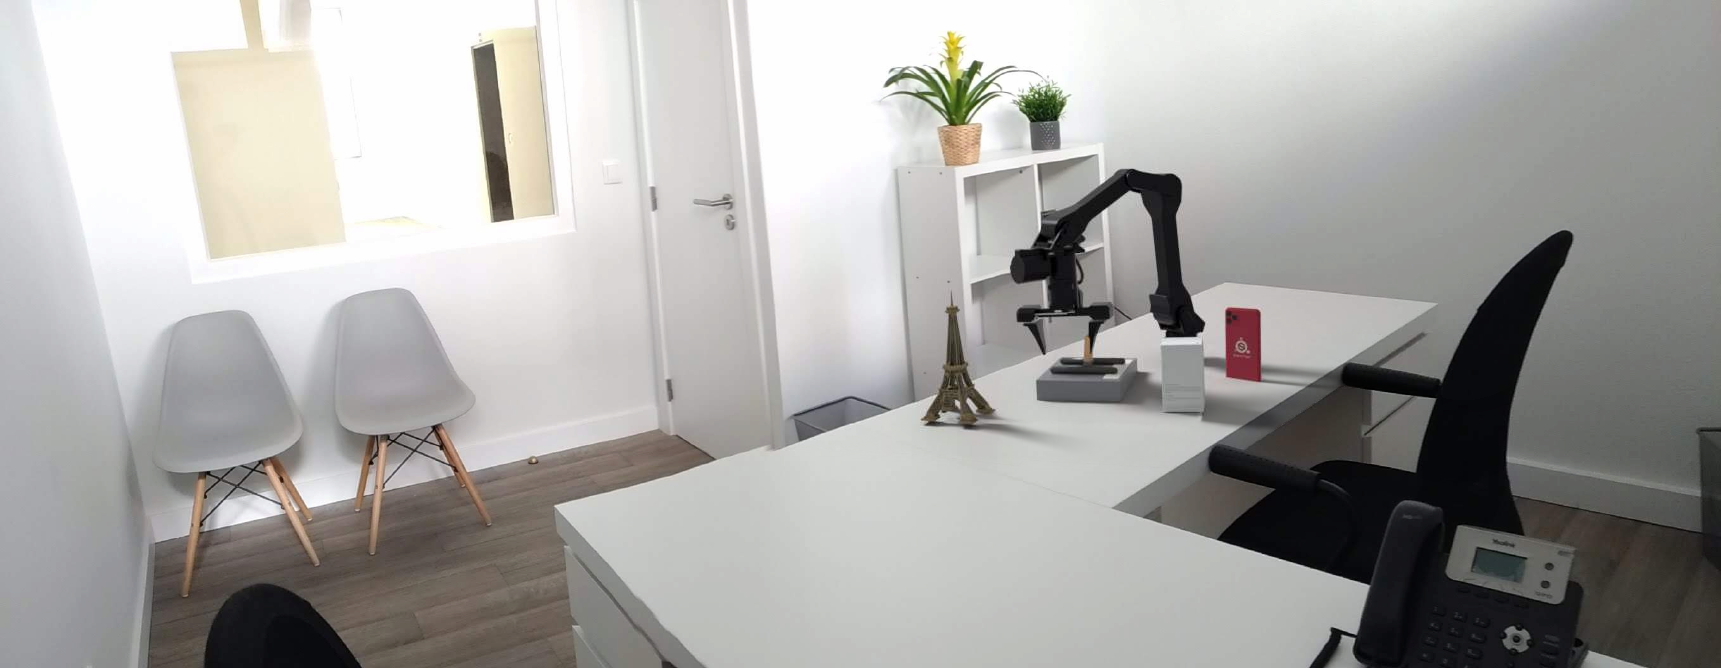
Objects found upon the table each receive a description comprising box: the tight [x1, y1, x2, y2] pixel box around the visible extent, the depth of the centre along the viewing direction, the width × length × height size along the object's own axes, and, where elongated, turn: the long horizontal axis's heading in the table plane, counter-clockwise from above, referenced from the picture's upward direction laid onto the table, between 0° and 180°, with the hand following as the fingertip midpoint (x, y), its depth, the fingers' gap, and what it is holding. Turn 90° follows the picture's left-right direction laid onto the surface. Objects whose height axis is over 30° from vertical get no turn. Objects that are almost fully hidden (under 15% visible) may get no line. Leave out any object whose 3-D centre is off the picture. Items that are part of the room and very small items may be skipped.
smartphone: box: [1224, 306, 1262, 383], centre depth 212 cm, size 7×1×15 cm, turn 42°
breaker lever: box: [1082, 334, 1094, 367], centre depth 217 cm, size 2×4×6 cm, turn 157°
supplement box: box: [1159, 336, 1206, 413], centre depth 197 cm, size 7×7×13 cm
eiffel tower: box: [920, 291, 996, 425], centre depth 202 cm, size 11×11×25 cm
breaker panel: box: [1035, 356, 1138, 403], centre depth 218 cm, size 16×22×5 cm
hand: (1067, 354), depth 218 cm, fingers open, 9 cm apart
